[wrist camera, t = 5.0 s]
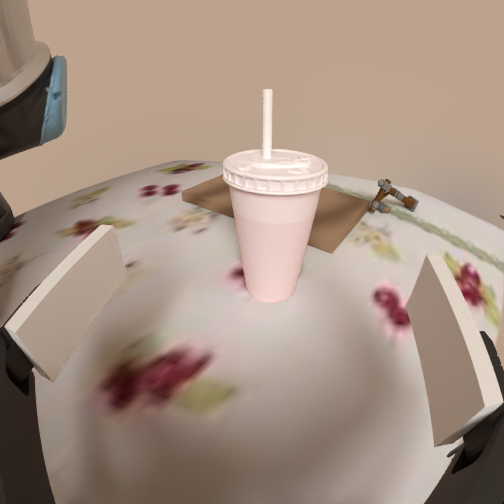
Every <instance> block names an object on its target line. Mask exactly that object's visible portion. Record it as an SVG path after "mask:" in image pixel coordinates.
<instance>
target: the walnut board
mask: <svg viewBox="0 0 504 504" xmlns="http://www.w3.org/2000/svg"><path fill="white" fill-rule="evenodd" d="M182 198H183V201H186V202H189V203H192V204H195V205H198V206H201V207H204V208H207V209H210V210H213V211H215V212H218V213H221V214H224V215H227V216H230V217H233V218H234V212H233V207H232V201H231V195H230V188H229V185H228V184H227V183H226V182H225V181H224V180H223V175H221V176H219V177H216V178H214V179H211V180H209V181H206V182H204V183H201V184H199V185H197V186H194V187H192V188H189V189H187V190H185V191H182ZM369 202H370V201H368V200H364V199H361V198H358V197H355V196H351V195H348V194H345V193H341V192H338V191H334V190H331V189H327V188H322V189H321V191H320V195H319V200H318V204H317V209H316V212H315V216H314V220H313V224H312V228H311V232H310V236H309V240H308V243H307V244H308V245H311V246H313V247H316V248H319V249H321V250H324V251H327V252H329V253H333V251H334V250H335V249H336V248H337V247H338V246H339V244H340V243H341V242H342V241H343V240H344V238H345V237H346V236H347V235H348V234H349V233H350V231H351V230H352V229H353V228H354V227H355V225H356V224H357V223H358V222H359V220H360V219H361V218H362V217H363V216H364V214H365V213H366V212H367V211H368V208H369Z"/></svg>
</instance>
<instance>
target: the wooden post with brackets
mask: <svg viewBox="0 0 504 504" xmlns="http://www.w3.org/2000/svg"><path fill="white" fill-rule="evenodd" d="M390 183H391V181H390V180H388V179H386V180H385V181H384V180H382V179H381V180H380V181H378V186H379V187H381V188H380V190H379V192H378V194H377V196H376V197H375V199H374V200H373V201H372V203H371V206H370V208H369V211H371V212H373V213H374V212H375V210H376V208H378V210H380V211H381V212H383V213H384V212H385V213H389V212H390V211H391V210H390V209H391V208H390V207H388V206H387V205H385V204H384V203H382V202H381V204H380V201H381V200H382V199H383V198H384V197H386V196H387V195H389V194H390V195H392V196H393V197H395V198H396V199H398V200H400V201H402V202H403V203H404V206H405V207H406V208H407V209H409V210H410V211H412V212H414V210H415V208H416V206H417V204H418V203H419V201H418V200H416V199H415V198H413V197H412V196H408V197H406V196H404V195H403V194H402V193H401V192H400V191H398V190H397V189H395V188H392V186H391V185H390ZM386 191H387V192H386ZM385 192H386V193H385Z"/></svg>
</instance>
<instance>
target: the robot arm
mask: <svg viewBox="0 0 504 504" xmlns="http://www.w3.org/2000/svg"><path fill="white" fill-rule="evenodd" d="M66 115H67V64H66V59H65V57H64V56H55V57H54V58H51V54H50V50H49V47H48V46H47V45H46V44H45V43H43V42H39V41H35V39H34V35H33V30H32V25H31V20H30V14H29V8H28V1H27V0H0V160H1V159H3V158H6V157H9V156H11V155H14V154H17V153H19V152H22V151H25V150H28V149H31V148H34V147H37V146H41V145H43V143H46V142H48V141H51V140H53V139H56V138H58V137H59V136H60V135H61V134H62V133H63V131H64V129H65V126H66ZM14 222H15V219H14V216H13V213H12V210H11V208H10V206H9V204H8V203H7V201H6V200H5V199H4V197H3V195H2V194H1V192H0V240H1V239H3V238H4V237H5V236H6V234H7V233H8V232H9V231H10V230H11V228H12V227H13V225H14ZM126 276H127V272H126V269H125V265H124V262H123V259H122V255H121V252H120V248H119V244H118V241H117V237H116V233H115V229H114V226H111V225H100V226H99V227H98V228H97V229H96V230H95V231H94V232H92V233H91V234H90V235H89V236H88V237H87V238H86V239H85V240H84V241H83V242H82V243H81V244H80V245H78V246H77V247H76V248H75V249H74V250H73V251H72V252H71V253H70V254H69V255H68V256H67V257H66V258H65V259H64V260H63V261H62V262H61V263H60V264H59V265H58V266H57V267H56V268H55V269H54V270H53V271H52V272H51V273H50V275H49V276H48V277H47V278H46V279H45V280H44V281H43V282H42V283H41V284H39V285H38V286H36V287H35V289H34V290H33V291H32V292H31V293H30V294H29V297H28V296H27V297H26V299H25V300H24V301H23V303H21V304H20V306H19V307H18V308H17V309H16V310H15V311H14V313H13V314H12V315H11V316H10V318H9V319H8V320H7V321H6V322H5V324H4V325H3V326H2V327H1V328H0V504H55V501H54V497H53V494H52V490H51V487H50V483H49V479H48V475H47V471H46V466H45V461H44V456H43V451H42V446H41V439H40V433H39V426H38V417H37V407H36V395H35V377H34V373H33V372H32V371H31V370H32V368H33V367H35V368H36V369H37V371H38V372H39V373H40V374H41V375H42V376H43V377H45V378H47V379H49V380H51V381H52V382H54V381H55V379H56V378H57V376H58V374H59V373H60V371H61V370H62V368H63V366H64V365H65V363H66V362H67V360H68V358H69V357H70V355H71V354H72V352H73V351H74V349H75V348H76V346H77V345H78V343H79V342H80V340H81V339H82V337H83V336H84V334H85V333H86V331H87V330H88V328H89V327H90V325H91V324H92V323H93V321H94V320H95V318H96V317H97V315H98V314H99V313H100V311H101V310H102V308H103V307H104V306H105V304H106V303H107V302H108V300H109V299H110V297H111V296H112V295H113V293H114V292H115V291H116V289H117V288H118V287H119V285H120V284H121V283H122V281H123V280H124V279H125V277H126ZM406 308H407V311H408V315H409V318H410V322H411V325H412V329H413V333H414V337H415V341H416V344H417V349H418V353H419V357H420V361H421V366H422V370H423V375H424V380H425V385H426V391H427V396H428V402H429V408H430V415H431V422H432V429H433V438H434V447H436V446H442V445H447V444H452V443H454V442H455V441H457V440H458V439H459V438H461V437H462V436H463V440H464V443H463V444H461V445H460V446H458V447H457V448H455V449H454V450H452V451H451V452H450V453H449V454H448V455H447V457H448V458H449V457H450V456H452V455H453V454H455V453H456V454H455V456H454V458H452V459H451V460H452V461H451V463H450V465H449V466H448V468H447V470H446V471H445V473H444V475H443V476H442V478H441V479H440V481H439V483H438V484H437V486H436V487H435V489H434V490H433V492H432V493H431V495H430V496H429V497H428V499H427V500H426V502H425V503H424V504H504V370H503V367H502V366H501V362H500V359H499V357H498V356H497V351H496V349H495V346H494V344H493V342H492V340H491V339H490V338H489V336H488V335H487V334H486V333H485V331H479V330H478V327H477V325H476V323H475V320H474V318H473V316H472V314H471V312H470V309H469V307H468V305H467V303H466V301H465V299H464V297H463V295H462V293H461V291H460V289H459V287H458V285H457V283H456V281H455V279H454V277H453V276H452V274H451V272H450V270H449V268H448V266H447V265H446V263H445V261H444V259H443V258H442V256H433V255H426V257H425V260H424V263H423V266H422V268H421V271H420V273H419V276H418V279H417V281H416V284H415V286H414V288H413V291H412V293H411V296H410V298H409V300H408V302H407V305H406Z"/></svg>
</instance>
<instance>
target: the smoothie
mask: <svg viewBox="0 0 504 504" xmlns="http://www.w3.org/2000/svg"><path fill="white" fill-rule="evenodd" d="M272 98H273V89H263V140H262V149H257V150H248V151H243V152H239V153H236V154H233V155H231V156H229V157H227V158H226V159H225V160H224V161H223V180H224V181H225V182H226V183H227V184H228V185H229V188H230V195H231V201H232V207H233V212H234V218H235V224H236V230H237V236H238V241H239V247H240V253H241V259H242V264H243V270H244V276H245V281H246V287H247V291H248V293H249V294H250V295H251V296H252V297H253V298H255V299H256V300H259V301H261V302H266V303H277V302H282V301H284V300H287V299H288V298H290V297H291V296H292V295H293V293H294V291H295V287H296V284H297V280H298V277H299V273H300V269H301V266H302V262H303V258H304V255H305V251H306V247H307V243H308V240H309V236H310V232H311V228H312V224H313V220H314V216H315V212H316V209H317V204H318V200H319V195H320V191H321V189H322V188H323V187H325V186H326V185H327V183H328V177H327V176H328V165H327V163H326V162H325V161H323V160H322V159H320V158H318V157H316V156H313V155H310V154H307V153H303V152H298V151H292V150H283V149H272V107H273V106H272V105H273V103H272V102H273V99H272Z"/></svg>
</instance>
